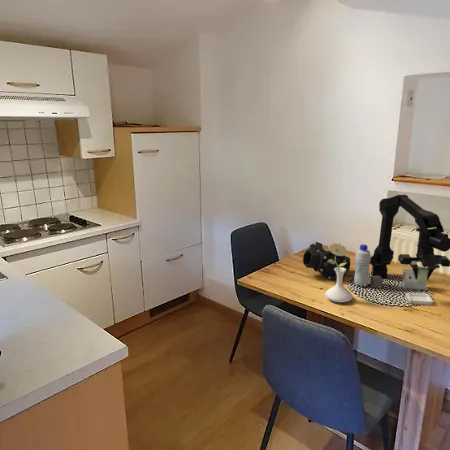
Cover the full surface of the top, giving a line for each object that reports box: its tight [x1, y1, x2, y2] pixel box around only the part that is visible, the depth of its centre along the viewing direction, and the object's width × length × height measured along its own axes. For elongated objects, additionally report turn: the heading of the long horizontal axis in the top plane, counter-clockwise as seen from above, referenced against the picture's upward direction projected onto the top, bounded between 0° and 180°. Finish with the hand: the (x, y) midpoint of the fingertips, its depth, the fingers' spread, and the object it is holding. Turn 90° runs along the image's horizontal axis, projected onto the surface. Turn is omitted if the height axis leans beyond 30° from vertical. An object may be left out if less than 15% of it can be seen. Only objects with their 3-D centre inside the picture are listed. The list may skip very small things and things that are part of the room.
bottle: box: [353, 243, 372, 288], centre depth 180 cm, size 7×7×20 cm
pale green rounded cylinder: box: [416, 266, 428, 284], centre depth 163 cm, size 4×4×6 cm
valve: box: [302, 241, 351, 280], centre depth 200 cm, size 22×15×30 cm
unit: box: [401, 268, 428, 292], centre depth 177 cm, size 10×6×8 cm, turn 79°
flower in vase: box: [324, 241, 353, 303], centre depth 166 cm, size 13×11×25 cm
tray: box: [405, 292, 435, 307], centre depth 166 cm, size 9×8×2 cm
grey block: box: [369, 275, 384, 288], centre depth 182 cm, size 4×4×4 cm
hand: (421, 279), depth 163 cm, fingers closed on pale green rounded cylinder, 4 cm apart
